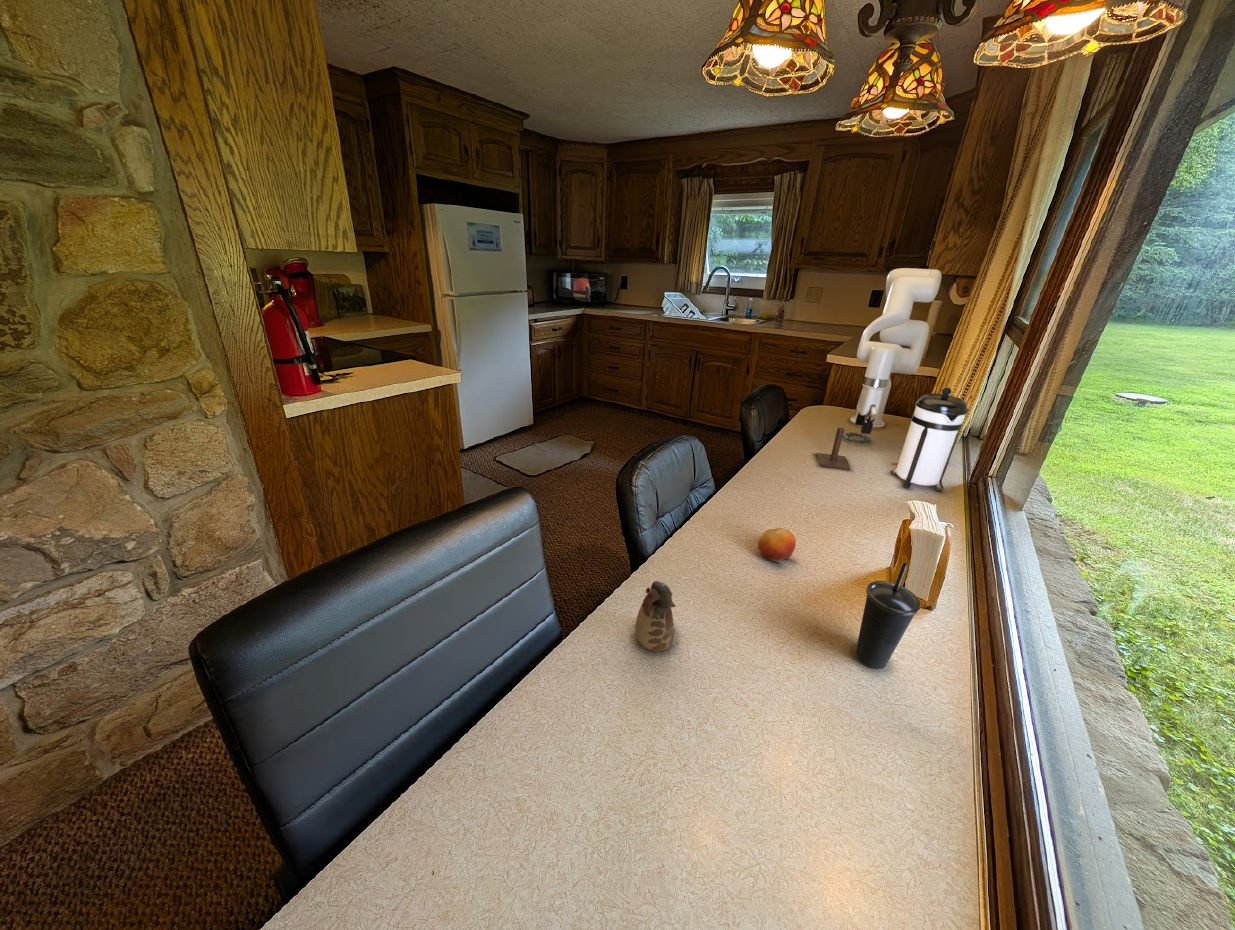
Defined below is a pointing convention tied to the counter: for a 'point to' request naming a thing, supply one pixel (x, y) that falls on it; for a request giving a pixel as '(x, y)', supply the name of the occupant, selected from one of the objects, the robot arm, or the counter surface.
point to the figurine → (656, 618)
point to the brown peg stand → (834, 455)
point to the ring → (855, 439)
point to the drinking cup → (885, 620)
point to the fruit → (777, 544)
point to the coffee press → (931, 439)
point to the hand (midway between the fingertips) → (862, 429)
